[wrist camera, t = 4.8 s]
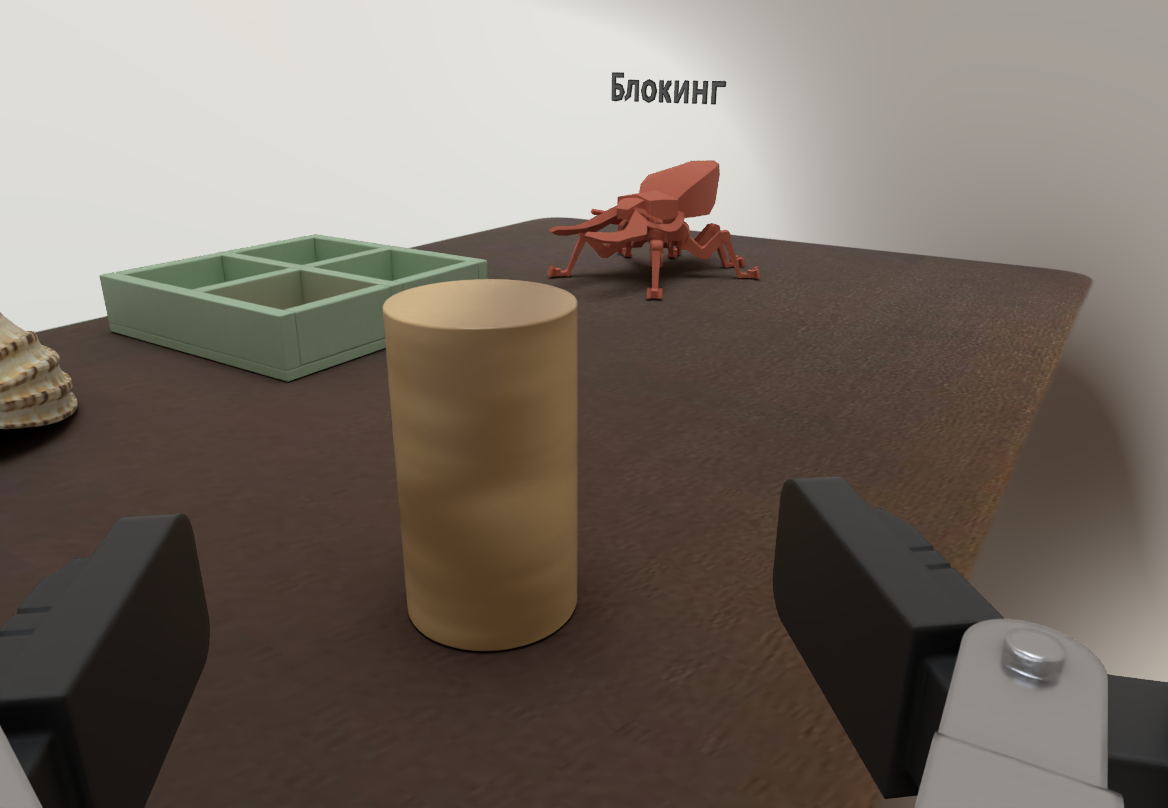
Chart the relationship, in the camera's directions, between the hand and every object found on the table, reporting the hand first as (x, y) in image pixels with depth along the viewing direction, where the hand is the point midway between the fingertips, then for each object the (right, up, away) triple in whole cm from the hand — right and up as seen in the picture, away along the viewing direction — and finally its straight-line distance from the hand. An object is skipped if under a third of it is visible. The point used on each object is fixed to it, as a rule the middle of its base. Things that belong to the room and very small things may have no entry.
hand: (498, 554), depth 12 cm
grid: (-14, +7, +35) cm, 38 cm away
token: (-1, -3, +11) cm, 11 cm away
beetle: (+5, +10, +46) cm, 47 cm away
